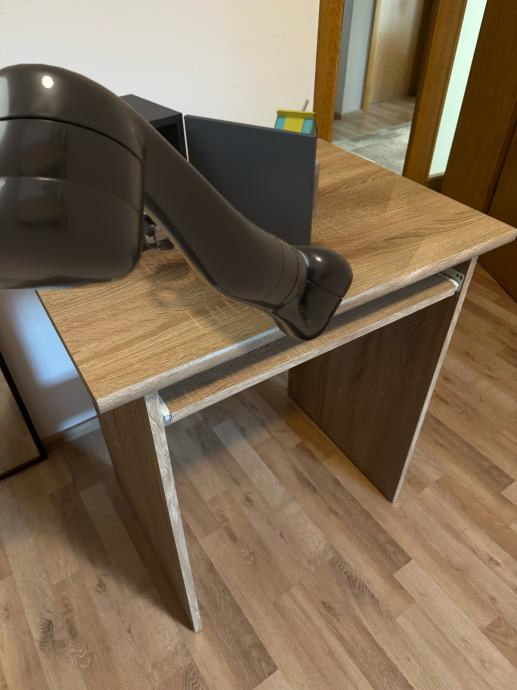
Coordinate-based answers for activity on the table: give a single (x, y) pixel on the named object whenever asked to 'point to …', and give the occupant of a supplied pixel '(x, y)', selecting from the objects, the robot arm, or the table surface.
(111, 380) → the table surface
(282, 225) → the cupboard door
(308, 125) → the carton
